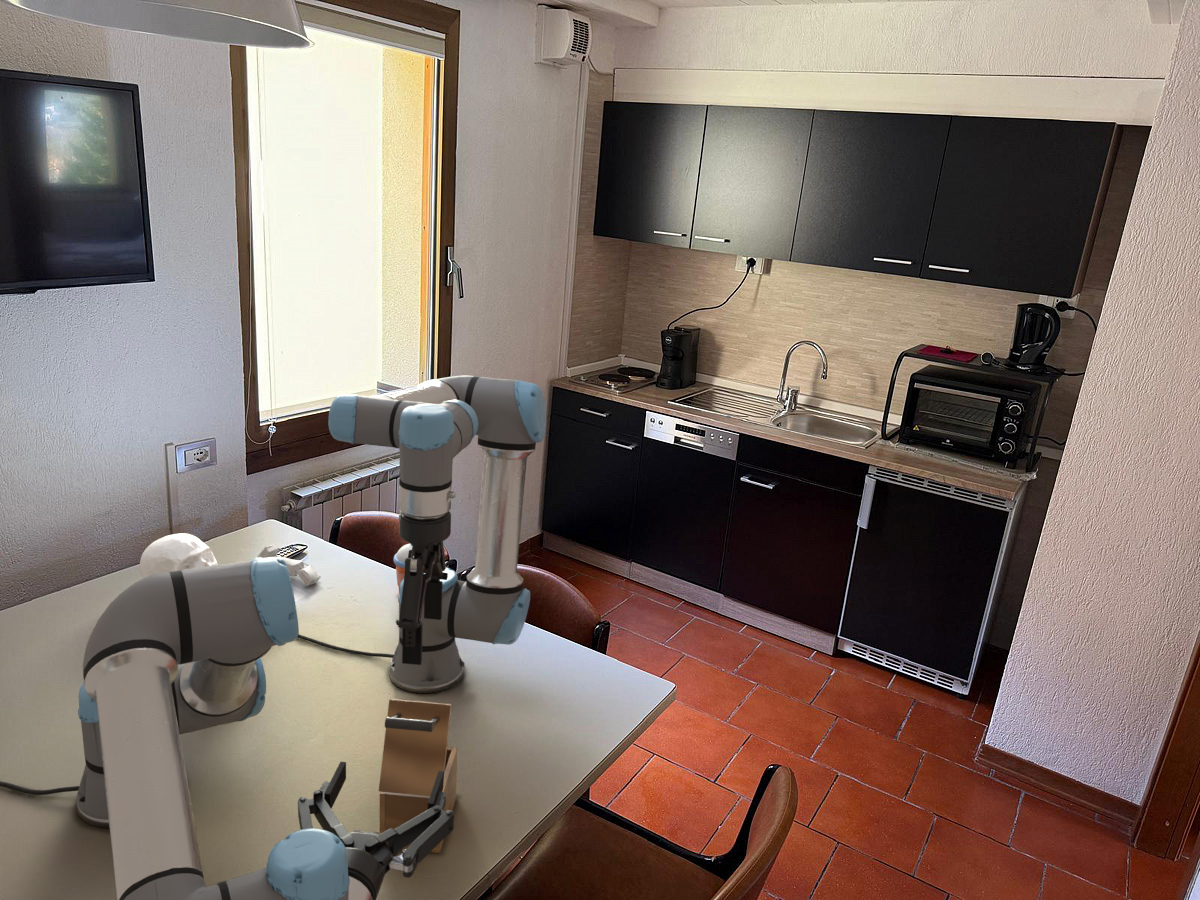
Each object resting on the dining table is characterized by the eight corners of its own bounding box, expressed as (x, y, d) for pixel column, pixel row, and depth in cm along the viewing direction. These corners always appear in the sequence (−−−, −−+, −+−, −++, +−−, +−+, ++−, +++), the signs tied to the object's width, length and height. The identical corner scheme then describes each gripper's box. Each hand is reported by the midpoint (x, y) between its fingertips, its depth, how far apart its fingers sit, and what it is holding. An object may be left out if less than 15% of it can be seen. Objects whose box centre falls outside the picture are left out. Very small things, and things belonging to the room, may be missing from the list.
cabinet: (400, 792, 147) (401, 742, 144) (456, 797, 147) (457, 747, 144) (379, 847, 135) (379, 793, 132) (439, 853, 135) (441, 799, 132)
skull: (205, 619, 196) (202, 555, 192) (127, 600, 202) (123, 537, 198) (244, 597, 208) (243, 536, 204) (170, 579, 214) (167, 520, 210)
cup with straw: (421, 606, 210) (422, 538, 205) (387, 600, 212) (387, 533, 206) (435, 590, 219) (437, 525, 213) (402, 584, 220) (403, 520, 215)
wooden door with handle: (390, 698, 134) (377, 706, 126) (451, 703, 134) (442, 712, 126) (380, 789, 132) (366, 803, 124) (442, 795, 132) (431, 809, 124)
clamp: (253, 565, 223) (254, 542, 221) (265, 560, 226) (266, 537, 224) (309, 593, 215) (310, 569, 213) (320, 588, 218) (321, 564, 216)
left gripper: (235, 912, 99) (303, 788, 119) (449, 932, 99) (480, 805, 119) (232, 860, 97) (302, 743, 117) (451, 880, 97) (482, 759, 117)
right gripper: (431, 547, 113) (428, 686, 119) (466, 484, 137) (462, 603, 143) (375, 542, 113) (375, 682, 120) (420, 480, 137) (418, 599, 143)
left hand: (392, 774), depth 118 cm, fingers open, 13 cm apart
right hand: (422, 639), depth 131 cm, fingers open, 13 cm apart
